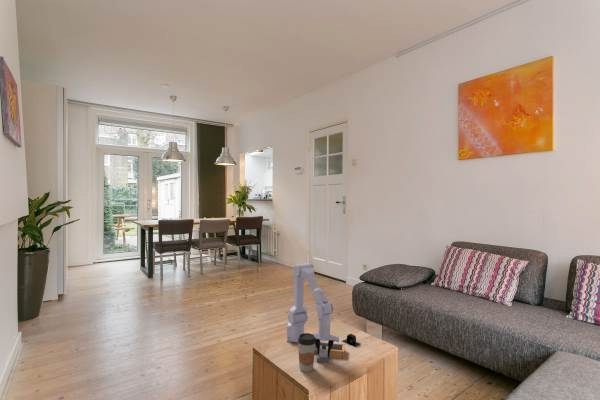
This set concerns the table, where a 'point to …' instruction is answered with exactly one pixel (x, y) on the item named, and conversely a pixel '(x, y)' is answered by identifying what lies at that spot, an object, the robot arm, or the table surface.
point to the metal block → (323, 351)
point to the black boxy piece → (351, 340)
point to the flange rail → (334, 349)
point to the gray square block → (323, 359)
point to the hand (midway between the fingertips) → (323, 354)
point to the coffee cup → (306, 351)
